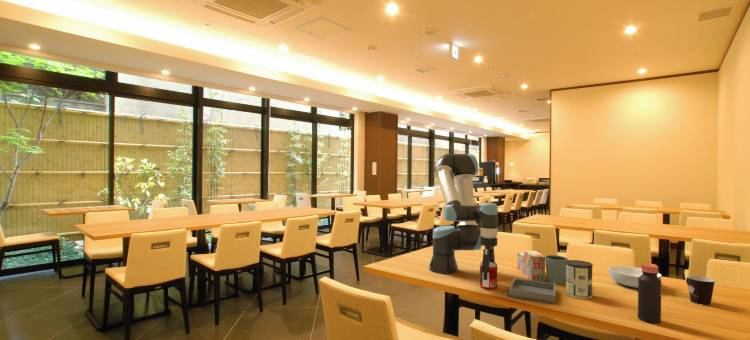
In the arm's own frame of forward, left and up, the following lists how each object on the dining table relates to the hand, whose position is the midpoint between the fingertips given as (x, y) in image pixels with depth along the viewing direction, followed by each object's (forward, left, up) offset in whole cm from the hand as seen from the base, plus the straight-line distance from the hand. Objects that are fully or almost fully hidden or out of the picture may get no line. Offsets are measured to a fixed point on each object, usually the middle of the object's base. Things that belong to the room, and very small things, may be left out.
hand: (488, 282), depth 171 cm
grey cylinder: (+28, +25, -2) cm, 38 cm away
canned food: (0, 0, -2) cm, 2 cm away
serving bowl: (+61, +37, -3) cm, 71 cm away
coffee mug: (+82, +24, -2) cm, 85 cm away
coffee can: (+37, +9, -2) cm, 38 cm away
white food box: (+16, +33, -3) cm, 36 cm away
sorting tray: (+19, 0, -2) cm, 19 cm away
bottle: (+59, -10, -2) cm, 60 cm away
